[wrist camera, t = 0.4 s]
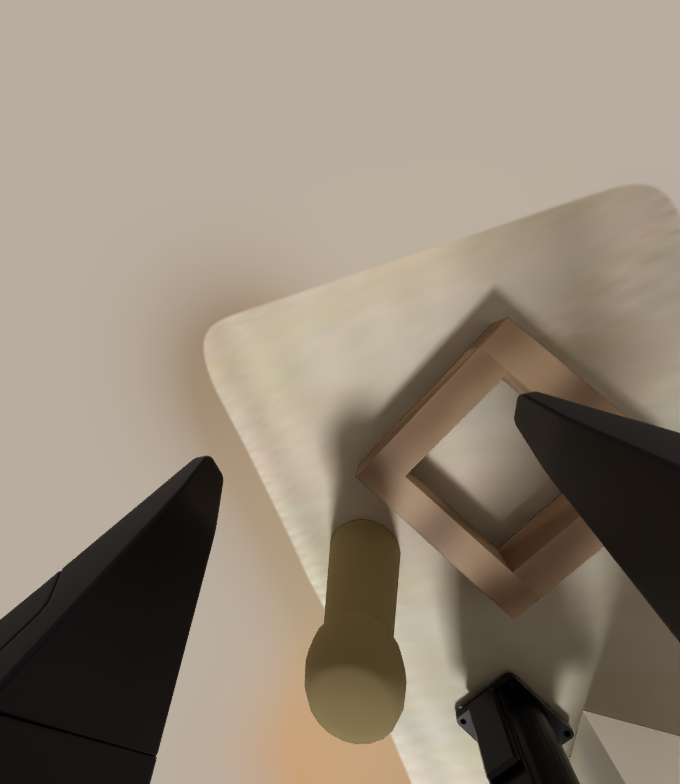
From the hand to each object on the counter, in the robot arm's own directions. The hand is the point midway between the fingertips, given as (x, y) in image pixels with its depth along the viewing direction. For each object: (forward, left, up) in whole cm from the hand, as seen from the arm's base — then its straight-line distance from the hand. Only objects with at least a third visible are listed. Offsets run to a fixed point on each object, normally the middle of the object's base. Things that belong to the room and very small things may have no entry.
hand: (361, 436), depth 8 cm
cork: (-9, +11, -14) cm, 20 cm away
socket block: (-11, -2, -14) cm, 18 cm away
